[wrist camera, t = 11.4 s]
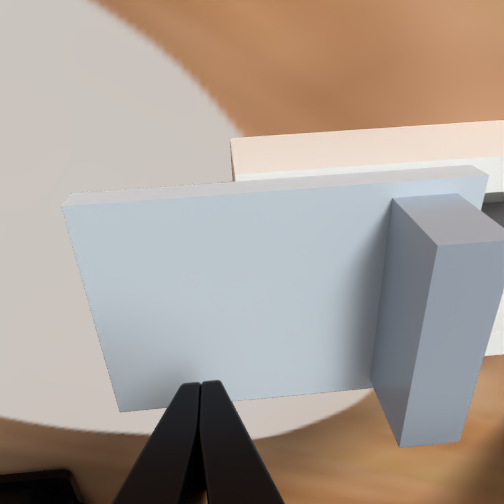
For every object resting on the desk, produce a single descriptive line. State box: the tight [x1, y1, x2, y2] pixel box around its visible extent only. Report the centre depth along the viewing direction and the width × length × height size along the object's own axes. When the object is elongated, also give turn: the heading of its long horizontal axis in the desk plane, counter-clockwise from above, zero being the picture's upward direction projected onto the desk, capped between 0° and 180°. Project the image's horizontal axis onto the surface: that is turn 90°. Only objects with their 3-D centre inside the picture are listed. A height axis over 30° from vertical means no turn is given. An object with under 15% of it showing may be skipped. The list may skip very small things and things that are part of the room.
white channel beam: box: [230, 120, 504, 356], centre depth 14 cm, size 13×7×4 cm, turn 93°
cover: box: [61, 165, 504, 448], centre depth 11 cm, size 10×7×3 cm
